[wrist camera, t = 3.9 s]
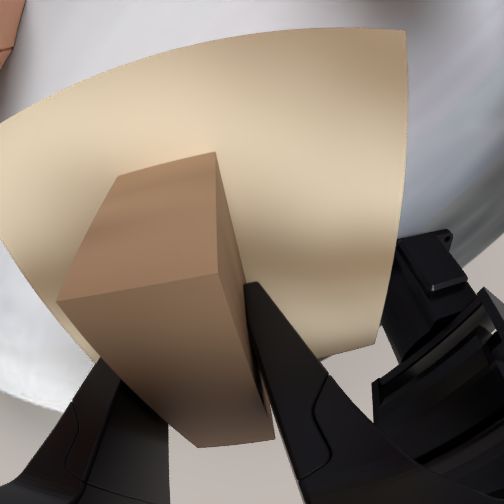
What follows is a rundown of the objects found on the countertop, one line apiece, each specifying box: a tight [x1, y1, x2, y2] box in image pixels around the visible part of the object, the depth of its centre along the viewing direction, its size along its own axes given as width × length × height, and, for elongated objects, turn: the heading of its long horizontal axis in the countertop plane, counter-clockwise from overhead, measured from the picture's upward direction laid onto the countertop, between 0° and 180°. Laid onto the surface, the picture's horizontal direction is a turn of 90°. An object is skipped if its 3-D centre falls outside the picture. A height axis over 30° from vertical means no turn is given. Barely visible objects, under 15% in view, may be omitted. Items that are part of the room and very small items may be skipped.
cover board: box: [0, 28, 408, 448], centre depth 8 cm, size 12×12×5 cm
